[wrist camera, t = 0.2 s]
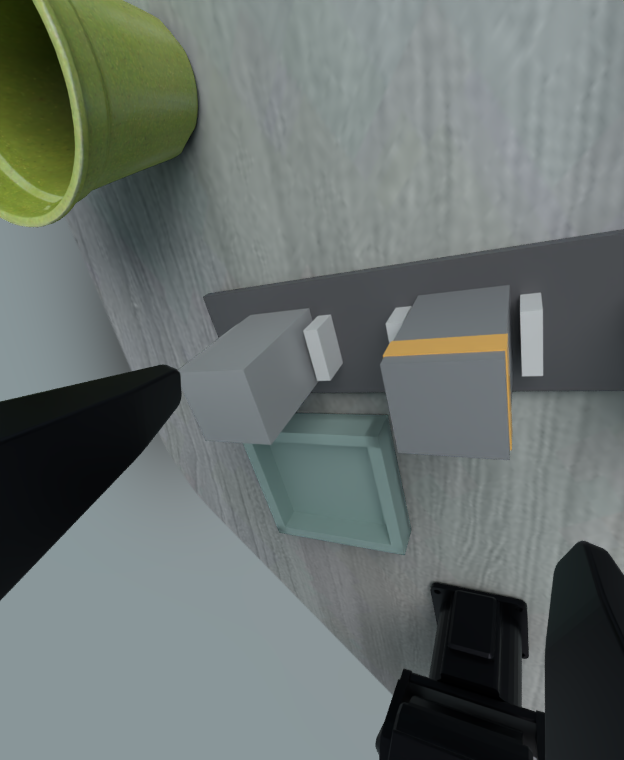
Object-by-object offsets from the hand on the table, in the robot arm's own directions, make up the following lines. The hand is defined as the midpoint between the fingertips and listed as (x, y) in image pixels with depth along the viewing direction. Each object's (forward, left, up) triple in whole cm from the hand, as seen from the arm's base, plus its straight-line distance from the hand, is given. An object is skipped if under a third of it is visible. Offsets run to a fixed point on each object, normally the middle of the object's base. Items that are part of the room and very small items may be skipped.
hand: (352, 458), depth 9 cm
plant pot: (+11, +13, -14) cm, 22 cm away
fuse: (-3, -1, -13) cm, 13 cm away
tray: (-13, +9, -14) cm, 21 cm away
